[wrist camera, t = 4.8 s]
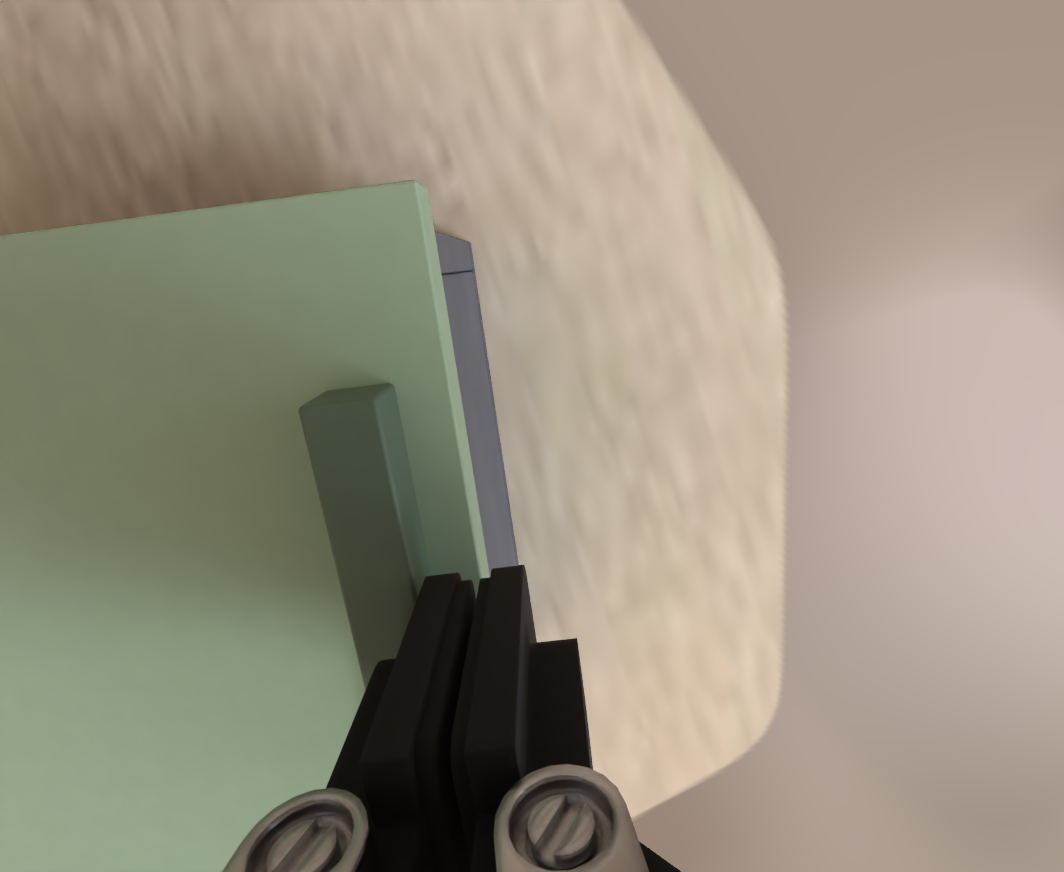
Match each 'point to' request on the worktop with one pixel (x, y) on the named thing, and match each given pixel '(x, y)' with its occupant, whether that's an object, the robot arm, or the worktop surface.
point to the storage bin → (477, 399)
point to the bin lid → (213, 512)
